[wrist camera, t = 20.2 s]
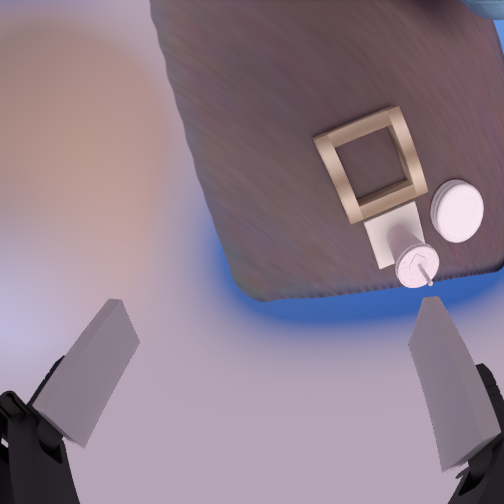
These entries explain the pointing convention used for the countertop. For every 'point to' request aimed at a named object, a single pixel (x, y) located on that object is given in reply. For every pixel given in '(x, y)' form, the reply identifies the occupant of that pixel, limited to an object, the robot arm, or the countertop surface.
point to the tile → (384, 222)
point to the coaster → (456, 210)
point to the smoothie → (412, 258)
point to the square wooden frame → (406, 153)
